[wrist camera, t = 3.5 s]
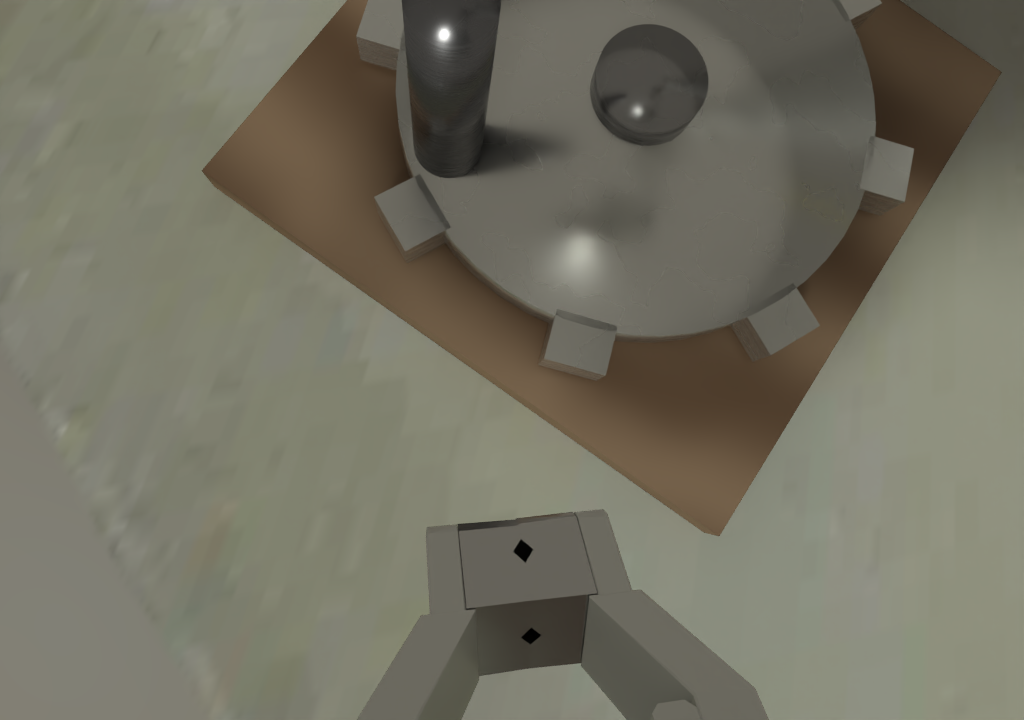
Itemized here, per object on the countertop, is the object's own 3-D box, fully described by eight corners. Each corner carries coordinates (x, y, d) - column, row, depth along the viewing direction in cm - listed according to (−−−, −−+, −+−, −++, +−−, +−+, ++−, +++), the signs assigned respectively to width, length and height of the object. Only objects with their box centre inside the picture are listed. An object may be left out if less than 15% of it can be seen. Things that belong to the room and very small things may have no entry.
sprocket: (563, -212, 29) (621, -529, 20) (968, 72, 29) (1216, -112, 20) (250, 161, 26) (141, -13, 16) (711, 487, 26) (867, 499, 16)
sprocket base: (553, -214, 31) (566, -292, 28) (978, 85, 31) (1040, 41, 28) (214, 186, 27) (184, 148, 24) (704, 532, 27) (739, 541, 24)
